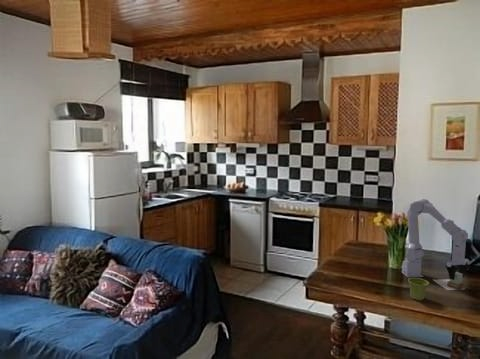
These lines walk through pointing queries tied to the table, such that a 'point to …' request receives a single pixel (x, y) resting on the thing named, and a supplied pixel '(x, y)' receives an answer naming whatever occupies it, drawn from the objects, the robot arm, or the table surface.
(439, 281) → the board
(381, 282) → the table surface
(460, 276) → the sage block
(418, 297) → the plant pot
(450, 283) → the walnut block
